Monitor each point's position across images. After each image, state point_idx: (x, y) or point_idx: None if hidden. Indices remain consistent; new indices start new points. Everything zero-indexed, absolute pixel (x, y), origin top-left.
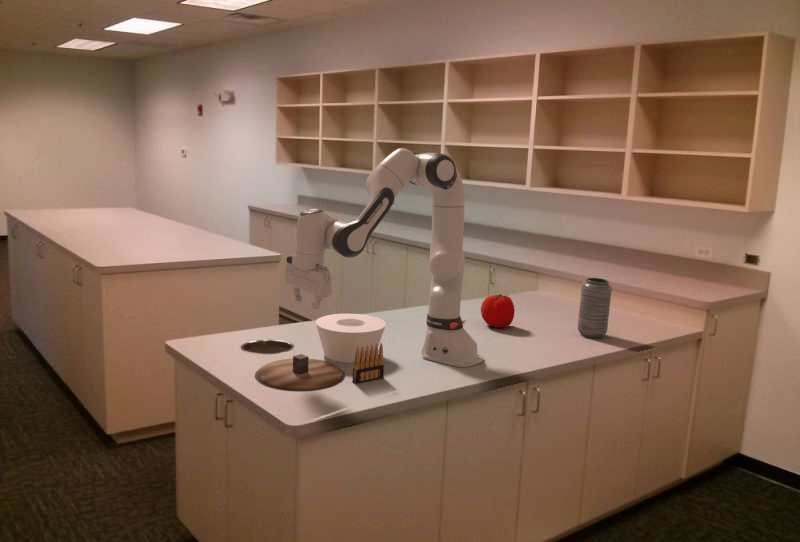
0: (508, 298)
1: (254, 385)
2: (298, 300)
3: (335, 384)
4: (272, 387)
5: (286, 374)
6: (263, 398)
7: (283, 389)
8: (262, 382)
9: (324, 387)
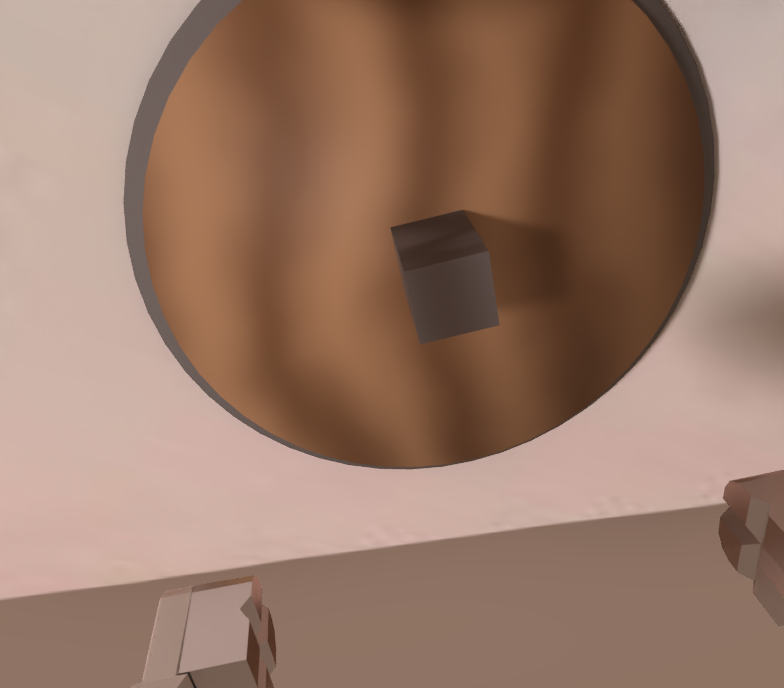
0: None
1: (424, 480)
2: (272, 640)
3: (702, 123)
4: None
5: (433, 342)
6: (589, 490)
7: None
8: None
9: None
